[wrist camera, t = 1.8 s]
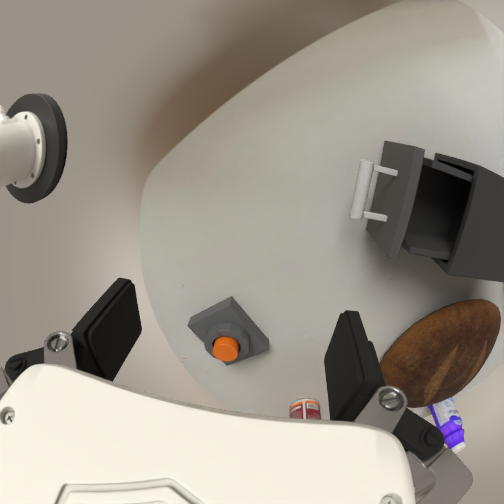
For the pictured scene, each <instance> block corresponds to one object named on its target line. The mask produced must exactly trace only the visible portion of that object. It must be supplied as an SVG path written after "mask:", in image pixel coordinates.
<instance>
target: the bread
mask: <svg viewBox="0 0 504 504" xmlns="http://www.w3.org/2000/svg"><path fill="white" fill-rule="evenodd" d="M500 323H501V316H500V311H499V308H498V307H497V306H496V305H495V304H494V303H492V302H490V301H487V300H483V299H473V300H466V301H461V302H457V303H454V304H451V305H448V306H445V307H443V308H441V309H439V310H437V311H435V312H433V313H431V314H429V315H428V316H426V317H425V318H423V319H422V320H420V321H418V322H417V323H415V324H414V325H413V326H412V327H411V328H410V329H408V330H407V331H406V332H405V333H404V334H403V335H402V336H401V337H400V338H399V339H398V340H397V341H396V342H395V343H394V344H393V345H392V346H391V348H390V349H389V350H388V351H387V352H386V354H385V356H384V358H383V360H382V362H381V363H380V368H381V371H382V374H383V378H384V381H385V385H386V386H387V385H390V386H395V387H397V388H399V389H400V390H402V391H403V392H404V394H405V395H406V397H407V407H410V408H417V407H425V406H429V405H432V404H436V403H439V402H441V401H444V400H446V399H448V398H450V397H452V396H454V395H455V394H457V393H458V392H460V391H461V390H462V389H463V388H464V387H465V386H466V385H468V384H469V383H470V381H471V380H472V379H473V378H474V377H475V376H476V375H477V373H478V372H479V371H480V369H481V368H482V366H483V365H484V363H485V361H486V360H487V358H488V356H489V355H490V353H491V351H492V349H493V347H494V344H495V342H496V339H497V336H498V334H499V330H500Z"/></svg>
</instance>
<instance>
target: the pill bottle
mask: <svg viewBox="0 0 504 504" xmlns="http://www.w3.org/2000/svg"><path fill="white" fill-rule="evenodd" d="M290 418H296V419H312V420H321V414H320V406H319V403H318V402H317V401H316V400H313V399H301V400H298V401H296V402H294V403H293V404H292V405H291V407H290Z"/></svg>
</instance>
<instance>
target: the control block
mask: <svg viewBox="0 0 504 504" xmlns="http://www.w3.org/2000/svg"><path fill="white" fill-rule="evenodd" d="M188 327H189V328H190V329H191V330H192V331H193V332H194V333H195V334H196V335H197V336H198V337H199V338H200V339H201V340H202V341H203V342H204V344H205V348H206V351H207V352H208V353H209V354H210V355H212V356H213V357H214V358H216V357H215V356H214V354H213V347H214V343H215V340H216V339H217V338H219V337H231V338H233V339H235V340H236V341H237V342H238V344H239V350H238V356H237V358H236V359H235V360H233V361H223V362H224V363H225V364H226V365H230V364H232V363H235V362H238V361H240V360H243V359H246V358H248V357H251V356H253V355H256V354H258V353H261V352H263V351H266V350H268V345H269V340H268V339H267V337H266V336H265V335H264V334H263V333H262V332H261V331H260V329H259V328H258V327H257V326H256V325H255V323H254V322H253V321H252V320H251V319H250V318H249V316H248V315H247V314H246V313H245V312H244V310H243V309H242V308H241V307H240V306H239V305H238V303H237V302H236V301H235V300H234V298H233V297H232V296H231V297H229V298H227V299H226V300H224V301H222V302H220V303H218V304H216V305H214V306H212V307H210V308H208V309H206V310H204V311H202V312H200V313H198V314H196V315H194V316H192V317H191V318H190V321H189V323H188Z"/></svg>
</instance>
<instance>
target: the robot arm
mask: <svg viewBox="0 0 504 504" xmlns="http://www.w3.org/2000/svg"><path fill="white" fill-rule="evenodd" d="M45 155H46V139H45V133H44V129H43V126H42V124H41V121H40V120H39V118H38V117H37V116H36V115H35V114H34V113H32V112H27V111H26V112H20V113H18V114H16V115H15V116H14V117H13V118H12V119H10V118H9V116H6V115H5V111H4V108H3V106H2V105H0V188H2V187H4V186H6V185H9V184H11V183H12V184H13V185H14V186H16V187H18V188H26V187H29V186H30V185H32V184H33V183H35V182H36V180H37V179H38V178H39V176H40V174H41V172H42V169H43V166H44V161H45ZM72 330H73V332H72V333H71V334H69V333H67V332H64V331H58V332H54V333H52V334H50V335H49V336H48V337H47V338H46V340H45V342H44V347H43V348H39V349H36V350H32V351H28V352H24V353H21V354H17V355H14V356H12V357H11V358H10V359H9V360H8V361H7V363H6V365H5V369H4V370H3V369H2V368H0V504H457V502H458V501H459V500H460V499H461V498H462V497H463V496H464V495H465V493H466V492H467V491H468V490H469V488H470V486H471V485H472V482H473V477H472V474H471V472H470V470H469V469H468V468H467V467H466V466H465V465H464V464H463V462H462V461H461V460H460V459H459V458H458V457H457V456H456V454H455V453H454V452H453V451H452V450H451V449H450V448H449V447H448V448H447V449H446V448H445V447H444V436H443V434H442V432H441V431H440V430H439V429H438V428H437V427H435V426H434V425H432V424H431V423H429V422H428V421H426V420H424V419H423V418H421V417H420V416H418V415H417V414H415V413H414V412H412V411H411V410H409V409H408V408H406V407H407V397H406V395H405V394H404V392H403V391H402V390H400V389H399V388H397V387H395V386H390V385H387V386H386V385H385V381H384V378H383V374H382V371H381V368H380V364H379V361H378V358H377V355H376V352H375V349H374V346H373V343H372V342H371V341H368V339H367V336H366V333H365V330H364V327H363V324H362V321H361V318H360V315H359V312H358V311H348V310H346V311H345V312H344V313H341V314H340V316H339V319H338V321H337V324H336V327H335V330H334V333H333V336H332V338H331V341H330V344H329V346H328V349H327V352H326V354H325V358H324V365H325V373H326V382H327V391H328V401H329V411H330V420H312V419H296V418H283V417H272V416H263V415H254V414H247V413H240V412H233V411H226V410H221V409H215V408H210V407H204V406H199V405H195V404H190V403H186V402H181V401H177V400H173V399H169V398H165V397H161V396H158V395H154V394H150V393H147V392H143V391H140V390H137V389H133V388H130V387H127V386H124V385H121V384H118V383H115V382H113V380H114V378H115V377H116V375H117V373H118V371H119V369H120V368H121V366H122V364H123V363H124V361H125V359H126V358H127V356H128V354H129V352H130V351H131V349H132V347H133V346H134V344H135V342H136V341H137V339H138V337H139V336H140V334H141V331H142V326H141V321H140V315H139V310H138V304H137V298H136V291H135V286H134V284H133V283H132V282H131V280H129V279H124V278H118V279H117V280H116V281H115V282H114V283H113V284H112V285H111V286H110V287H109V289H108V290H107V291H106V292H105V293H104V294H103V295H102V296H101V297H100V298H99V300H98V301H97V302H96V303H95V304H94V305H93V306H92V307H91V308H90V310H89V311H88V312H87V313H86V314H85V315H84V317H83V318H82V319H81V320H80V321H79V322H78V323H77V325H76V326H75V327H74V328H73V329H72ZM414 487H415V492H414Z"/></svg>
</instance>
